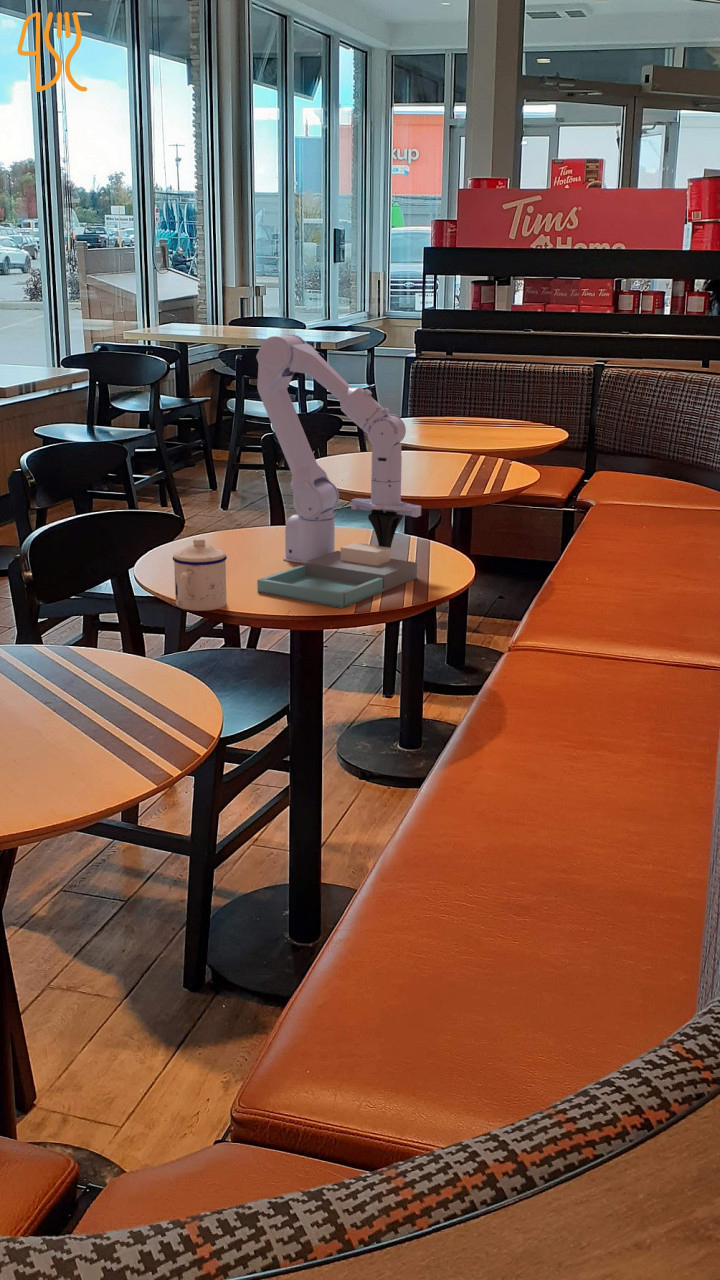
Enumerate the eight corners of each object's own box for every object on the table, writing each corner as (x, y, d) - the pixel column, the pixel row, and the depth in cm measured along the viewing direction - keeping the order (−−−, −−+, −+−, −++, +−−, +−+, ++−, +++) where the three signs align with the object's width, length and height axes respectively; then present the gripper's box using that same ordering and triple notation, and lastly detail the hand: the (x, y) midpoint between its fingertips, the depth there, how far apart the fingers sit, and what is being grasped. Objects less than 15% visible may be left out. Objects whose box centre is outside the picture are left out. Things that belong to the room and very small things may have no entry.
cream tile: (340, 560, 216) (340, 547, 216) (354, 555, 220) (354, 542, 220) (376, 565, 212) (376, 552, 211) (390, 560, 216) (390, 547, 216)
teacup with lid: (188, 597, 201) (185, 532, 198) (236, 601, 199) (234, 535, 195) (157, 614, 190) (154, 546, 187) (208, 619, 188) (206, 550, 184)
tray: (257, 593, 204) (257, 579, 203) (302, 577, 215) (302, 564, 214) (341, 608, 195) (341, 594, 194) (384, 591, 206) (384, 577, 205)
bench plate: (302, 577, 215) (302, 562, 214) (337, 565, 225) (337, 550, 224) (384, 591, 206) (384, 575, 205) (416, 578, 216) (417, 562, 215)
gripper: (343, 479, 218) (342, 548, 222) (408, 486, 211) (407, 557, 215) (362, 474, 224) (361, 542, 228) (427, 481, 217) (425, 551, 221)
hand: (385, 549), depth 222 cm, fingers closed
